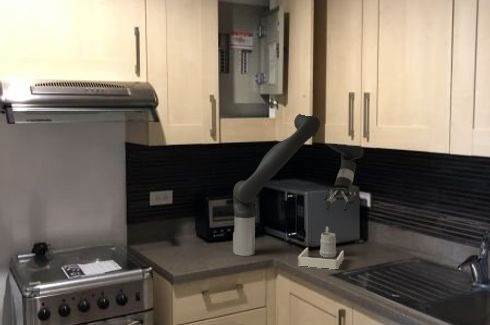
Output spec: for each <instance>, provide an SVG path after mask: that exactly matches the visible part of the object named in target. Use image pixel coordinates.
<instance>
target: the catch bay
mask: <svg viewBox="0 0 490 325" xmlns="http://www.w3.org/2000/svg"><path fill="white" fill-rule="evenodd" d="M344 254H345V251H344V250H341V252H340V253H339V255H338V256H337V257H336V259H331V258H329V259H327V258H320V257H319V258H318V257H310V256H309V247H306V248H305V249H304V250H302V252H301V253H300V254H299V255H298V256H297V266H298V267H300V266H308V267H307V268H310V267H317V268H316V269H321V268H329V269H328V270H331V269H338V270H339V268H340V267H341V265H342V264H343V262H344V260H343V259H344V257H345V255H344ZM342 261H343V262H342ZM340 264H341V265H340ZM339 266H340V267H339Z"/></svg>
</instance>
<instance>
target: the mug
mask: <svg viewBox="0 0 490 325" xmlns="http://www.w3.org/2000/svg"><path fill="white" fill-rule="evenodd" d="M329 230H330V228H329V226H325V232H321V236H320V250H319V254H320V255H321V256H320V257H322V256H323V258H327V257H332V258H335V257H337V253H338V252H337V248H336V247H337V246H336V244H337V240H336V233H334V232H329Z"/></svg>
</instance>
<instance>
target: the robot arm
mask: <svg viewBox="0 0 490 325" xmlns="http://www.w3.org/2000/svg"><path fill="white" fill-rule="evenodd" d="M311 115H312V116H305V115H301V114H300V113H299V114H297V115H296V116H295V118H294V120H293V124H294V127H295V129H296V131H295V132H294V133H292V134H291V135H290V136H289V137H288V138H285V139H284V140H282V141H279V142H278V143H276V144H275V145H274V146H273V147H271V149H270V150H268V152H267V153H266V154H265V155H264V156H263V157H262V160H261V161H260V163H259V164H258V166H257V168H256V169H255V171H254V173H252V174H251V176H249V178H247V179H246V180H240V181H238V182H236V183H235V185H234V187H233V190H232V191H233V192H232V193H233V194H232V196H233V205H232V206H233V213H234V231H233V233H232V252H233V253H234V254H235V255H236V256H242V257H244V256H245V257H246V256H248V257H249V256H252V255H255V252H256V251H255V246H256V245H255V241H256V238H255V237H256V236H255V235H256V234H255V233H256V231H255V230H256V225H255V224H256V223H255V222H256V221H255V220H256V219H255V216H256V214H255V213H256V212H255V208H254V199H256V198H257V196H258V194H259V193H260V192H261V190H262V189H263V187H264V186H266V184H267V183H268V182H269V181H270V180H271V179H272V178H273V177H274V176H275V175H276V174H277V173H278V171H280V170H281V169H282V168H283V166H285V164H287V162H289V160H290V159H291V158H292V157H293V155H295V154H296V152H298V150H300V148H302V146H303V145H304V144H305V143H306V142H308V141H309V140H310V139H311V138H312V137H313V138H315V137H314V136H315V134H316V132H317V131H318V129H319V127H320V125H321V122H320V119H319V117H317V116H315V115H313V114H311ZM325 146H328V147H329V148H331V149H332V150H334V151H335V152H337V153H340V154H341V155H340V158H341V161H340V162H341V163H340V164H341V165H340V168H339V171H338V173H337V176H336V180H335V182H334V188H333V190H332V189H331V190H330V189H329V188H328V189H326V191H327V190H328V191H331V192H329V193H330V197H329V198H328V199H327V196H328V195H327V196H326V198H325V199H324V198H323V200H324V202H325V201H326V202H325V203H326V204H325V209H326V210H327V211H330V209H331V204H333V202H335V201H336V200H338V201H340V200H341V201H343V200H345V202H344V204H343V208H342V209H343V211H344V212H347V211H348V210H349V206H350V205H351V204H353V205H354V204H355V200H356V196H357V193H356V191H355V190H354V189H352V185H353V181H354V177H355V176H354V175H355V173H356V172H355V171H356V168H357V164H356V162H354V160H357V159H360V158H362V157H363V156H364V149H363V147H362V146H361V147H362V148H361V147H355V146H346V145H337V144H325ZM351 189H352V190H351ZM349 195H350V196H349ZM348 197H349V198H348Z"/></svg>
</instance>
